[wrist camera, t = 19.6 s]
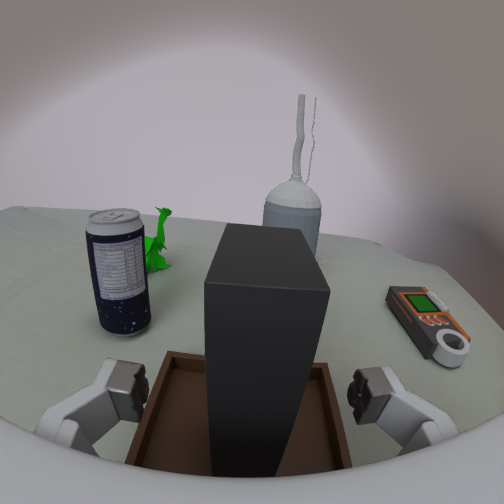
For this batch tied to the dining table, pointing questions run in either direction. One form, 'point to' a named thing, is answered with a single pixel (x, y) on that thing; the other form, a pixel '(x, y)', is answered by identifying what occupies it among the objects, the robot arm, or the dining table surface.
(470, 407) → the dining table surface
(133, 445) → the tray
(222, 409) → the tall dark grey prism
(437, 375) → the dining table surface
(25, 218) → the dining table surface
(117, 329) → the beverage can
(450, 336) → the electronic device
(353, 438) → the dining table surface
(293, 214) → the humidifier
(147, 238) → the figurine
